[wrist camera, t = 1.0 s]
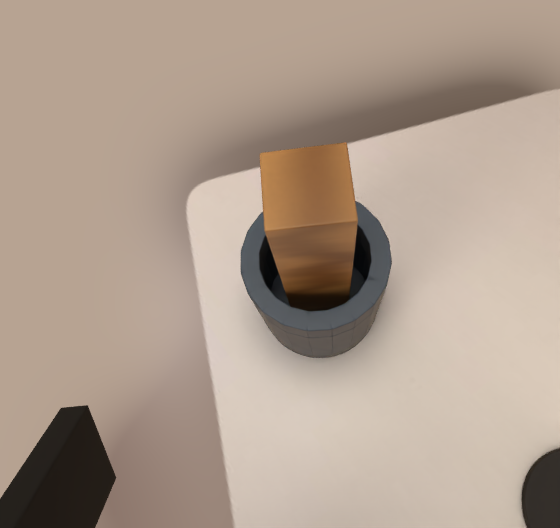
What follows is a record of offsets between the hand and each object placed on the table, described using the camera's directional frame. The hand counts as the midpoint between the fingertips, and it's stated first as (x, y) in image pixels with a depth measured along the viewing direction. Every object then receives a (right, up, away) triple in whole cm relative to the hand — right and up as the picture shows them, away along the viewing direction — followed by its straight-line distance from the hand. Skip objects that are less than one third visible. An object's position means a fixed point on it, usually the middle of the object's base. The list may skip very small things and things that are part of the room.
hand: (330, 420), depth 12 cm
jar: (+2, +1, +25) cm, 25 cm away
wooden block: (+2, +1, +24) cm, 24 cm away
